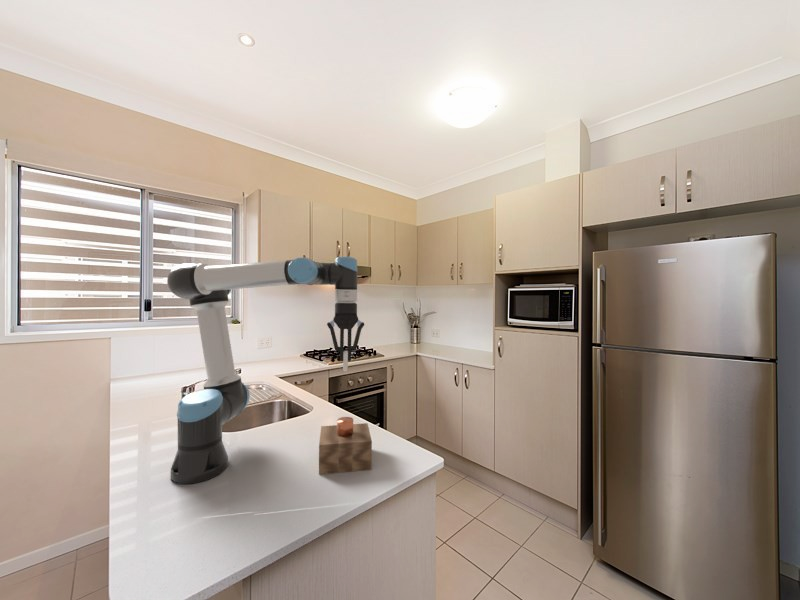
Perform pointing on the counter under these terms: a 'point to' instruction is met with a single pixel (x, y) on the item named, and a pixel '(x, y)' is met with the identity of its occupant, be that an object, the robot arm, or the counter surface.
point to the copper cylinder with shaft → (345, 426)
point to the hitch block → (345, 450)
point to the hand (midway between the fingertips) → (345, 370)
